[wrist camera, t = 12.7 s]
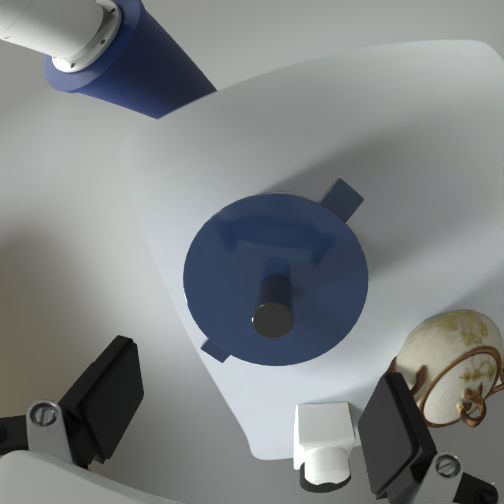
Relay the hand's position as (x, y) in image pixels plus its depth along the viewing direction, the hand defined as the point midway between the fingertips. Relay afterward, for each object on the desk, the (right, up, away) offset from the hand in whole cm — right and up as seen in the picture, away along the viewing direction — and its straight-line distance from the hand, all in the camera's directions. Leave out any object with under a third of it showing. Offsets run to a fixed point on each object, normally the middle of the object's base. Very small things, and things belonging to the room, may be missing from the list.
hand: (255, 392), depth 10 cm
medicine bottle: (+10, -18, +25) cm, 33 cm away
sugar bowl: (+23, -7, +20) cm, 31 cm away
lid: (+2, +3, +11) cm, 12 cm away
